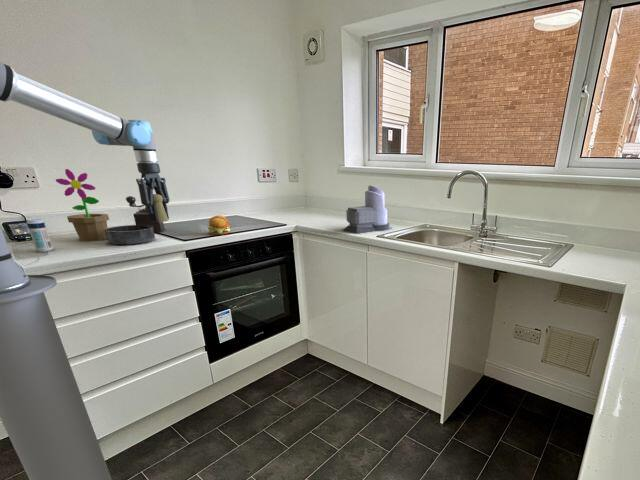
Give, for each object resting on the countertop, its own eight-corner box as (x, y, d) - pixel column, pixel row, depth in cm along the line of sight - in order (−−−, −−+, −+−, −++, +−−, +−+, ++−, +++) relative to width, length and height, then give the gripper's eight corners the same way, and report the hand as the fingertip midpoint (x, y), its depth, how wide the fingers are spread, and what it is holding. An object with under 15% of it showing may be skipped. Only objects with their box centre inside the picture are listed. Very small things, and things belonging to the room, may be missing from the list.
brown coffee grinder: (140, 229, 182) (131, 193, 175) (165, 228, 186) (157, 193, 180) (132, 235, 169) (123, 196, 162) (159, 234, 173) (151, 196, 167)
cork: (156, 219, 154) (150, 193, 149) (171, 219, 154) (165, 193, 150) (149, 221, 148) (142, 194, 144) (164, 221, 149) (158, 195, 145)
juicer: (377, 224, 220) (377, 184, 211) (396, 228, 210) (397, 185, 202) (340, 230, 199) (339, 185, 190) (359, 234, 189) (358, 187, 180)
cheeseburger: (226, 230, 186) (225, 212, 181) (234, 238, 181) (233, 220, 176) (205, 232, 180) (204, 213, 175) (213, 240, 174) (212, 221, 169)
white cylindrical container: (51, 248, 140) (41, 218, 136) (55, 250, 138) (44, 220, 133) (35, 250, 137) (24, 219, 132) (38, 252, 134) (27, 221, 130)
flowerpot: (69, 242, 151) (45, 168, 140) (79, 236, 162) (58, 167, 151) (110, 240, 157) (91, 169, 146) (117, 234, 169) (99, 168, 158)
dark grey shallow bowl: (135, 246, 148) (132, 232, 146) (97, 244, 149) (93, 230, 147) (164, 238, 164) (161, 225, 162) (129, 237, 165) (126, 224, 163)
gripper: (155, 162, 152) (167, 216, 160) (119, 162, 134) (134, 223, 142) (172, 163, 151) (182, 217, 160) (138, 162, 133) (152, 223, 142)
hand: (160, 219), depth 151 cm, fingers closed on cork, 6 cm apart
